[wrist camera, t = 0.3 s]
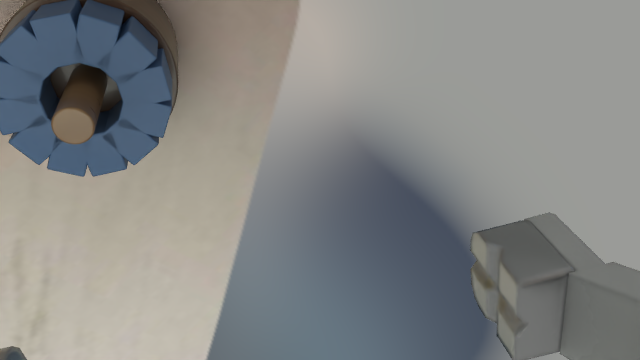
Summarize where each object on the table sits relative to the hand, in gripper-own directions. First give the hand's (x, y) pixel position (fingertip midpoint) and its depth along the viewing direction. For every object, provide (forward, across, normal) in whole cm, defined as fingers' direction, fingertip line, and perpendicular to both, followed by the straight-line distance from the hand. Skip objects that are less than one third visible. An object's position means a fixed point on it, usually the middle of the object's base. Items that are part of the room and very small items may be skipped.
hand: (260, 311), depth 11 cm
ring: (+16, +5, 0) cm, 17 cm away
